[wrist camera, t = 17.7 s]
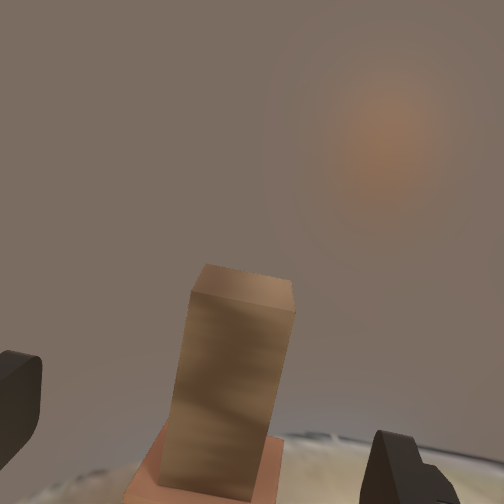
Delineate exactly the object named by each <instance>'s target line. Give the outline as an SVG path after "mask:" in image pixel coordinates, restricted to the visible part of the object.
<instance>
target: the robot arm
mask: <svg viewBox="0 0 504 504" xmlns="http://www.w3.org/2000/svg"><path fill="white" fill-rule="evenodd" d="M41 380H42V361H41V359H40V357H38V356H34V355H30V354H25V353H20V352H15V351H10V350H6V351H4V352H2V353H1V354H0V470H1V469H2V468H3V467H4V466H5V465H6V464H7V463H8V462H9V461H10V460H11V459H12V457H14V455H15V454H16V453H17V452H18V451H19V450H20V449H21V448H22V447H23V446H24V445H25V444H26V443H27V441H28V440H29V439H30V438H31V436H32V434H33V433H34V430H35V428H36V426H37V423H38V419H39V413H40V397H41ZM359 504H460V501H459V499H458V497H457V494H456V492H455V490H454V488H453V485H452V484H451V483H450V482H449V481H448V479H447V478H446V477H445V476H444V475H443V474H442V473H441V472H440V471H439V469H438V468H437V467H436V466H434V465H429V464H425V463H423V462H422V459H421V457H420V454H419V451H418V449H417V446H416V443H415V441H414V439H413V437H410V436H406V435H400V434H397V433H392V432H387V431H382V430H378V431H377V432H376V434H375V437H374V440H373V444H372V448H371V452H370V456H369V460H368V463H367V467H366V471H365V475H364V479H363V483H362V487H361V492H360V499H359Z"/></svg>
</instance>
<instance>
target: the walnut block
mask: <svg viewBox="0 0 504 504" xmlns="http://www.w3.org/2000/svg"><path fill="white" fill-rule="evenodd" d="M295 313H296V310H295V304H294V298H293V291H292V285H291V281H289V280H284V279H279V278H274V277H269V276H264V275H259V274H254V273H249V272H244V271H239V270H234V269H230V268H225V267H220V266H215V265H210V264H205V266H204V268H203V269H202V271H201V273H200V275H199V277H198V279H197V281H196V283H195V285H194V287H193V289H192V290H191V295H190V301H189V306H188V312H187V317H186V323H185V329H184V335H183V340H182V346H181V352H180V358H179V363H178V369H177V374H176V380H175V386H174V391H173V397H172V403H171V409H170V414H169V420H168V426H167V431H166V437H165V443H164V448H163V454H162V460H161V465H160V471H159V477H158V483H157V485H161V486H166V487H171V488H176V489H181V490H187V491H192V492H197V493H202V494H207V495H212V496H217V497H222V498H227V499H233V500H238V501H243V502H248V503H251V500H252V496H253V491H254V487H255V483H256V479H257V474H258V470H259V466H260V462H261V457H262V453H263V449H264V445H265V441H266V436H267V432H268V428H269V423H270V419H271V415H272V411H273V407H274V402H275V398H276V394H277V389H278V385H279V381H280V377H281V373H282V368H283V364H284V360H285V356H286V351H287V347H288V343H289V338H290V334H291V330H292V326H293V321H294V317H295Z"/></svg>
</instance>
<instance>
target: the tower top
mask: <svg viewBox="0 0 504 504" xmlns="http://www.w3.org/2000/svg"><path fill="white" fill-rule="evenodd" d="M168 420H169V418H168ZM168 420H167V421H166V423H165V425H164V426H163V428H162V430H161V432H160V433H159V435H158V437H157V439H156V440H155V442H154V443H153V445H152V447H151V448H150V450H149V452H148V454H147V455H146V457H145V459H144V460H143V462H142V464H141V465H140V467H139V469H138V471H137V472H136V474H135V476H134V477H133V479H132V481H131V482H130V484H129V486H128V487H127V489H126V491H125V493H124V500H123V504H275V503H276V495H277V488H278V481H279V474H280V466H281V459H282V452H283V444H284V440H282V439H278V438H274V437H270V436H266V441H265V445H264V449H263V453H262V457H261V462H260V466H259V470H258V474H257V479H256V483H255V487H254V491H253V496H252V500H251V503H248V502H243V501H238V500H233V499H227V498H222V497H217V496H212V495H207V494H202V493H197V492H192V491H187V490H181V489H176V488H171V487H166V486H161V485H157V483H158V477H159V471H160V465H161V460H162V454H163V448H164V443H165V437H166V431H167V426H168Z"/></svg>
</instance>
